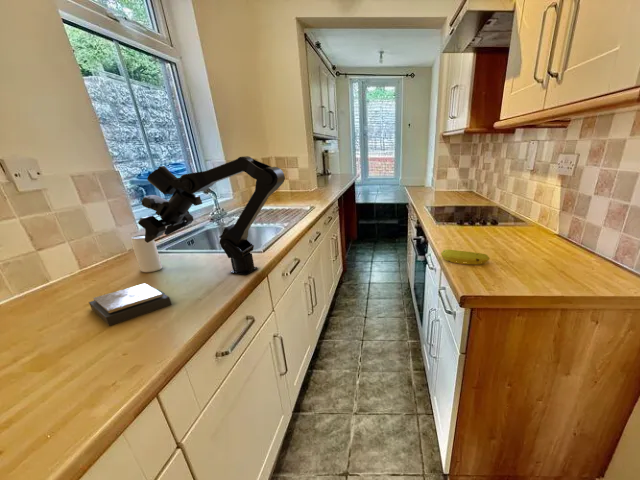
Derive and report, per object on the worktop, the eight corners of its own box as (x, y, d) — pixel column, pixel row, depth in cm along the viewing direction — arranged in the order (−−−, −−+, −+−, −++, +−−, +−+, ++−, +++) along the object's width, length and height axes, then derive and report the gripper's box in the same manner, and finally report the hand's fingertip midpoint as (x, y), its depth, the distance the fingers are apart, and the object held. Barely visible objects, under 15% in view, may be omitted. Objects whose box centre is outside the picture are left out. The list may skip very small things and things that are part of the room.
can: (154, 272, 109) (143, 239, 104) (136, 272, 109) (124, 239, 105) (167, 266, 115) (157, 234, 110) (149, 266, 115) (138, 234, 110)
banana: (494, 254, 112) (482, 248, 126) (446, 251, 112) (439, 245, 126) (492, 266, 113) (480, 259, 128) (444, 263, 113) (437, 256, 127)
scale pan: (145, 285, 93) (145, 283, 92) (163, 296, 86) (162, 293, 86) (94, 300, 84) (92, 297, 84) (109, 313, 77) (107, 310, 77)
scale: (153, 291, 95) (150, 284, 94) (173, 304, 88) (171, 296, 87) (92, 310, 85) (88, 302, 84) (109, 326, 77) (105, 317, 76)
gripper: (176, 183, 109) (155, 215, 114) (133, 190, 92) (111, 227, 97) (203, 206, 111) (181, 236, 117) (167, 218, 94) (143, 252, 100)
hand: (156, 237), depth 107 cm, fingers open, 9 cm apart
